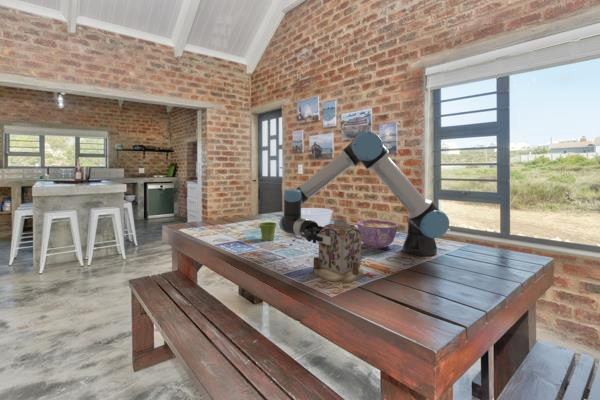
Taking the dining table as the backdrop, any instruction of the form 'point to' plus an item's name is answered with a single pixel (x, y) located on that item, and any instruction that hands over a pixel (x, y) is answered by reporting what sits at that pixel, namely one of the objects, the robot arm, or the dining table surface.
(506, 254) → the dining table surface
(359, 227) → the bowl of food
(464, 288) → the dining table surface
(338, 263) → the decorative jar
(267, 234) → the plant pot
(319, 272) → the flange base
